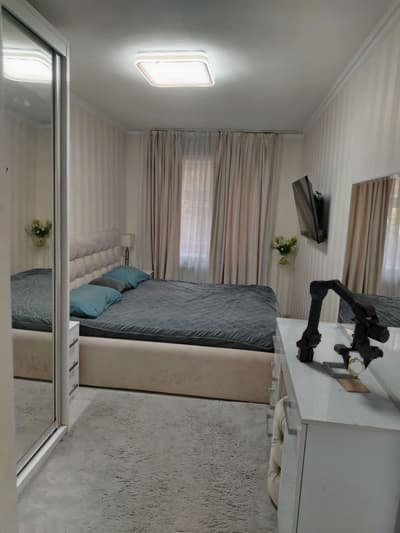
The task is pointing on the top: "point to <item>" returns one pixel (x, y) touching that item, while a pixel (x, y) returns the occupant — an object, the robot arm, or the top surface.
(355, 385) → the pad
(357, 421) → the top surface
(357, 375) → the ring
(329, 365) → the bin
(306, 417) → the top surface
